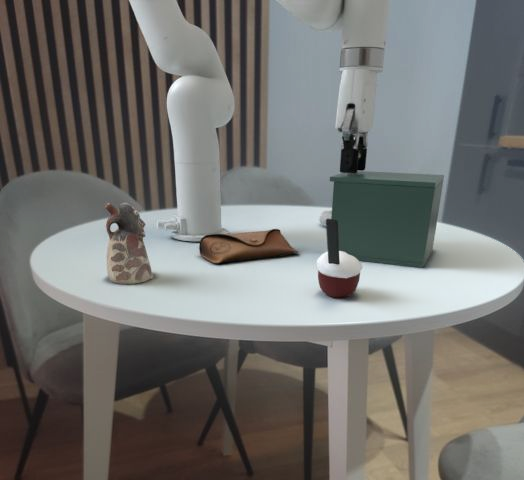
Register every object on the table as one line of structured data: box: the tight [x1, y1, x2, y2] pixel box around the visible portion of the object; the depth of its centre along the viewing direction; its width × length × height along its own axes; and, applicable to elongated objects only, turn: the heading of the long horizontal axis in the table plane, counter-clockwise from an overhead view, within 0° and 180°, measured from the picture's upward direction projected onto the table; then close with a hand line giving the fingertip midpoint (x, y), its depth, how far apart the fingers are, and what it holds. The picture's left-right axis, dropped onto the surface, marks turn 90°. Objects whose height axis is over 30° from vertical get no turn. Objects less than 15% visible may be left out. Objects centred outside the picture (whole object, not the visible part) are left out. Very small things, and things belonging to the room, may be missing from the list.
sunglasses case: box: [198, 228, 298, 264], centre depth 96 cm, size 18×7×7 cm
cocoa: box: [315, 219, 363, 299], centre depth 72 cm, size 10×6×12 cm, turn 131°
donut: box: [318, 209, 332, 228], centre depth 124 cm, size 10×4×10 cm
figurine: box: [104, 202, 154, 285], centre depth 79 cm, size 7×7×12 cm
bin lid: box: [329, 150, 445, 187], centre depth 92 cm, size 18×15×5 cm
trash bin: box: [331, 179, 444, 269], centre depth 96 cm, size 18×15×14 cm
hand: (352, 170), depth 95 cm, fingers closed on bin lid, 5 cm apart
